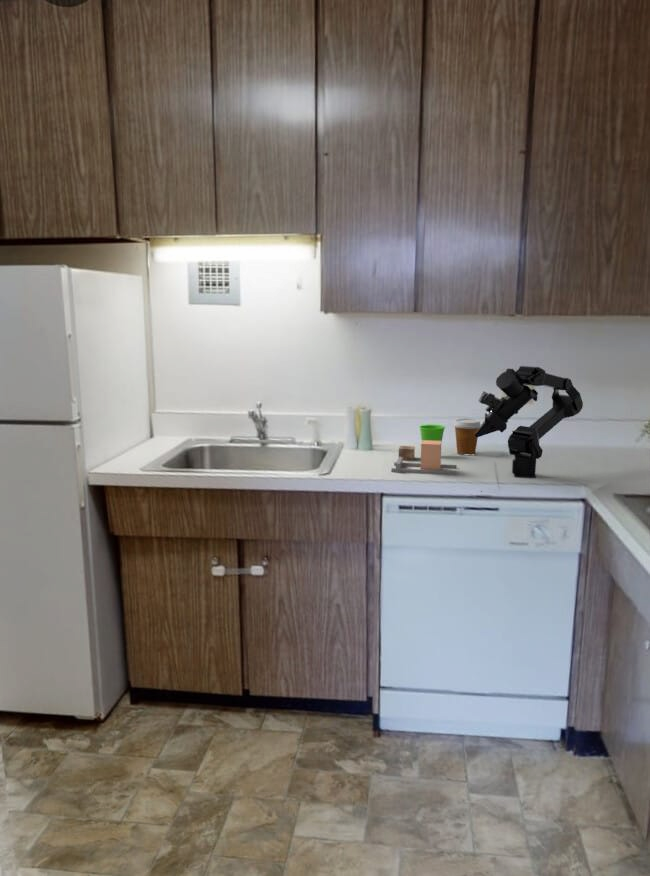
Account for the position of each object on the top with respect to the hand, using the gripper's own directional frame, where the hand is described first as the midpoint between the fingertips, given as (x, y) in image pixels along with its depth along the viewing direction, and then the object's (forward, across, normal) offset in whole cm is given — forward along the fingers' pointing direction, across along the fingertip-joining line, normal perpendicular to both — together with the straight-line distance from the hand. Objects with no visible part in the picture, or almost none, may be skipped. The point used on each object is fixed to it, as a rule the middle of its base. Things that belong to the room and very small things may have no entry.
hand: (475, 436), depth 208 cm
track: (+20, 0, -2) cm, 20 cm away
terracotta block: (+18, 0, -2) cm, 18 cm away
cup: (+19, -23, -1) cm, 30 cm away
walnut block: (+25, -15, -7) cm, 30 cm away
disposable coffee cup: (+11, -32, +7) cm, 35 cm away
